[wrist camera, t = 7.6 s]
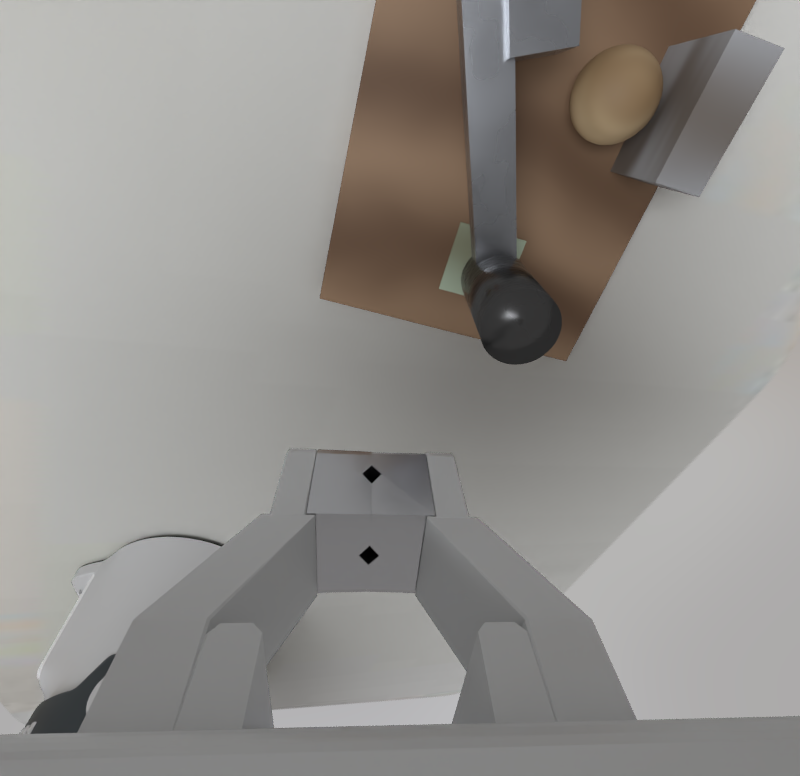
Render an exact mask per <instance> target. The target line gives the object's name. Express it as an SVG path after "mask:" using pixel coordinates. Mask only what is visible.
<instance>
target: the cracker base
mask: <svg viewBox="0 0 800 776" xmlns="http://www.w3.org/2000/svg"><path fill="white" fill-rule="evenodd" d="M755 1H756V0H582V3H581V23H580V42H579V46H577V47H575V48H572V49H570V50H567V51H565V52H562V53H560V54H556V55H550V56H545V57H539V58H533V59H527V60H522V61H516V62H515V101H516V223H517V258H518V259H519V260H520V262H521V263H522V264H523V265H524V266H525V267H526V269H527V270H528V271H529V272H530V273H531V274H532V276H533V277H534V278H535V279H536V280H537V281H538V283H539V284H540V285H541V286H542V287H543V288H544V290H545V291H546V292H547V293H548V294H549V295H550V297H551V298H552V299H553V300H554V301H555V303H556V304H557V305H558V307H559V309H560V312H561V316H562V327H561V332H560V335H559V337H558V339H557V341H556V343H555V344H554V345H553V347H552V348H551V349H550V350H549V351H548V352H547V353H546V354H544V356H548V357H552V358H555V359H559V360H563V361H566V360H567V358H568V357H569V355H570V353H571V351H572V349H573V347H574V345H575V343H576V341H577V339H578V338H579V336H580V334H581V332H582V330H583V328H584V326H585V324H586V322H587V320H588V319H589V317H590V315H591V313H592V311H593V309H594V307H595V305H596V303H597V301H598V300H599V298H600V296H601V294H602V292H603V290H604V288H605V286H606V284H607V282H608V281H609V279H610V277H611V275H612V273H613V271H614V269H615V267H616V265H617V263H618V262H619V260H620V258H621V256H622V254H623V252H624V250H625V248H626V246H627V244H628V243H629V241H630V239H631V237H632V235H633V233H634V231H635V229H636V227H637V225H638V224H639V222H640V220H641V218H642V216H643V214H644V212H645V210H646V208H647V206H648V205H649V203H650V201H651V199H652V197H653V195H654V193H655V191H656V189H657V187H658V186H659V187H663V188H666V189H670V190H674V191H678V192H682V193H685V194H689V195H693V196H697V197H699V196H700V194H701V193H702V191H703V189H704V187H705V186H706V184H707V182H708V181H709V179H710V177H711V175H712V174H713V172H714V170H715V168H716V167H717V165H718V163H719V161H720V160H721V158H722V156H723V154H724V153H725V151H726V149H727V148H728V146H729V144H730V142H731V141H732V139H733V137H734V135H735V134H736V132H737V130H738V128H739V127H740V125H741V123H742V122H743V120H744V118H745V116H746V115H747V113H748V111H749V109H750V108H751V106H752V104H753V102H754V101H755V99H756V97H757V95H758V94H759V92H760V90H761V89H762V87H763V85H764V83H765V82H766V80H767V78H768V76H769V75H770V73H771V71H772V69H773V68H774V66H775V64H776V63H777V61H778V59H779V57H780V56H781V54H782V52H783V50H784V49H785V48H783V47H780V46H778V45H775V44H773V43H770V42H768V41H765V40H762V39H760V38H757V37H755V36H752V35H750V34H747V33H745V32H742V31H740V30H741V28H742V26H743V24H744V22H745V20H746V18H747V16H748V15H749V13H750V11H751V9H752V7H753V5H754V3H755ZM471 257H472V253H471V236H470V220H469V203H468V186H467V170H466V153H465V136H464V120H463V103H462V86H461V70H460V53H459V36H458V20H457V3H456V0H376V3H375V9H374V14H373V19H372V24H371V30H370V35H369V40H368V45H367V51H366V56H365V61H364V67H363V72H362V77H361V82H360V88H359V93H358V98H357V104H356V109H355V114H354V119H353V125H352V130H351V135H350V140H349V146H348V151H347V156H346V162H345V167H344V172H343V177H342V183H341V188H340V193H339V199H338V204H337V209H336V214H335V220H334V225H333V230H332V235H331V241H330V246H329V251H328V257H327V262H326V267H325V272H324V278H323V283H322V288H321V294H320V299H324V300H328V301H332V302H336V303H340V304H344V305H348V306H352V307H356V308H360V309H363V310H367V311H371V312H375V313H379V314H383V315H387V316H391V317H395V318H399V319H403V320H407V321H411V322H414V323H418V324H422V325H426V326H430V327H434V328H438V329H442V330H446V331H450V332H454V333H458V334H461V335H465V336H469V337H473V338H477V339H481V338H480V336H479V333H478V330H477V328H476V325H475V322H474V320H473V317H472V315H471V312H470V309H469V307H468V304H467V301H466V299H465V296H464V293H463V291H462V287H461V275H462V271H463V269H464V267H465V265H466V263H467V262H468V260H469V259H470V258H471Z"/></svg>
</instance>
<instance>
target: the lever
mask: <svg viewBox="0 0 800 776" xmlns="http://www.w3.org/2000/svg"><path fill="white" fill-rule="evenodd" d="M456 3H457V20H458V36H459V53H460V70H461V86H462V103H463V120H464V136H465V153H466V170H467V186H468V203H469V220H470V236H471V253H472V257H471V258H470V259H469V260H468V262H467V263H466V265H465V267H464V269H463V271H462V275H461V287H462V291H463V293H464V296H465V299H466V301H467V304H468V307H469V309H470V312H471V315H472V317H473V320H474V322H475V325H476V328H477V330H478V333H479V336H480V338H481V341H482V344H483V346H484V348H485V349H486V351H487V352H488V353H489V354H490V355H491V356H492V357H493V358H495V359H496V360H498V361H500V362H503V363H507V364H524V363H528V362H532V361H534V360H536V359H538V358H540V357H541V356H543V355H544V354H546V353H547V352H548V351H549V350H550V349H551V348H552V347H553V345H554V344H555V343H556V341H557V339H558V337H559V335H560V332H561V327H562V316H561V312H560V309H559V307H558V305H557V304H556V303H555V301H554V300H553V299H552V298H551V297H550V295H549V294H548V293H547V292H546V291H545V290H544V288H543V287H542V286H541V285H540V284H539V283H538V281H537V280H536V279H535V278H534V277H533V276H532V274H531V273H530V272H529V271H528V270H527V269H526V267H525V266H524V265H523V264H522V263H521V262H520V260H519V259H518V258H517V223H516V101H515V62H516V61H522V60H527V59H533V58H539V57H545V56H550V55H556V54H560V53H562V52H565V51H567V50H570V49H572V48H575V47H577V46H579V42H580V23H581V3H582V0H456Z"/></svg>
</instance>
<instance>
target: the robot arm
mask: <svg viewBox="0 0 800 776" xmlns="http://www.w3.org/2000/svg"><path fill="white" fill-rule="evenodd" d="M72 585H73V587H74V589H75V591H76V593H77V595H78V597H79V599H78V600H77V602H76V604H75V605H74V607H73V609H72V611H71V612H70V614H69V616H68V618H67V619H66V621H65V623H64V624H63V626H62V628H61V630H60V631H59V633H58V635H57V637H56V638H55V640H54V642H53V644H52V645H51V647H50V649H49V651H48V652H47V654H46V656H45V658H44V659H43V661H42V663H41V665H40V667H39V669H38V672H37V678H38V679H39V685H40V688H41V690H42V692H43V694H44V702H42V703H41V704H40V705H39V706H38V707H37V708H36V710H35V711H34V713H33V715H32V716H31V718H30V719H29V721H28V723H27V724H26V726H25V728H23V729H22V730H21V732H20V733H19V734H8V735H7V734H5V735H0V776H800V716H786V717H744V718H705V719H704V718H703V719H702V718H701V719H664V720H662V719H661V720H637V719H636V717H635V715H634V712H633V710H632V708H631V706H630V703H629V701H628V699H627V697H626V695H625V692H624V690H623V688H622V686H621V683H620V681H619V679H618V677H617V674H616V672H615V670H614V668H613V666H612V663H611V661H610V659H609V656H608V654H607V652H606V650H605V647H604V645H603V643H602V641H601V638H600V636H599V634H598V632H597V630H596V627H595V625H594V623H593V621H592V619H591V618H590V617H588V616H587V615H586V614H585V613H584V612H583V611H582V610H580V609H579V608H578V607H577V606H576V605H575V604H574V603H573V602H571V600H569V599H568V598H567V597H566V596H565V595H564V594H563V593H562V592H560V591H559V590H558V589H557V588H556V587H555V586H554V585H553V584H552V583H550V582H549V581H548V580H547V579H546V578H545V577H544V576H543V575H541V574H540V573H539V572H538V571H537V570H536V569H535V568H534V567H532V566H531V565H530V564H529V563H528V562H527V561H526V560H525V559H524V558H522V557H521V556H520V555H519V554H518V553H517V552H516V551H515V550H513V549H512V548H511V547H510V546H509V545H508V544H507V543H506V542H505V541H503V540H502V539H501V538H500V537H499V536H498V535H497V534H496V533H494V532H493V531H492V530H491V529H490V528H489V527H488V526H487V525H486V524H484V523H483V522H482V521H481V520H480V519H479V518H472V517H469V513H468V509H467V506H466V502H465V498H464V494H463V490H462V486H461V482H460V478H459V474H458V470H457V466H456V462H455V459H454V456H453V455H452V454H451V453H425V454H418V453H376V452H361V451H341V450H321V449H318V450H316V449H292V448H290V449H289V450H288V452H287V453H286V456H285V460H284V464H283V467H282V471H281V475H280V479H279V482H278V486H277V490H276V494H275V497H274V501H273V505H272V509H271V512H270V514H260V515H259V516H258V517H257V518H256V519H254V520H253V521H252V522H251V523H250V524H248V525H247V526H246V527H245V528H244V529H242V530H241V531H240V532H239V533H237V534H236V535H235V536H234V537H233V538H231V539H230V540H229V541H228V542H227V543H225V544H224V545H223V546H222V547H221V546H218V545H215V544H212V543H209V542H205V541H201V540H196V539H190V538H182V537H156V538H149V539H144V540H140V541H136V542H133V543H131V544H128V545H126V546H124V547H122V548H121V549H119V550H118V551H117V552H115V553H114V554H113V555H112V556H110V557H109V558H108V559H106V560H104V561H101V562H96V563H92V564H88V565H85V566H82V567H80V568H79V569H78V570H77V572H76V574H75V575H74V577H73V579H72ZM361 591H370V592H403V593H416V594H415V596H416V597H417V599H418V600H419V602H420V603H421V605H422V606H423V607H424V609H425V610H426V612H427V613H428V615H429V616H430V618H431V619H432V621H433V622H434V624H435V625H436V627H437V628H438V630H439V631H440V633H441V634H442V636H443V637H444V639H445V640H446V642H447V643H448V645H449V646H450V648H451V649H452V651H453V652H454V654H455V655H456V657H457V658H458V659H459V661H460V662H461V664H462V665H463V667H464V668H465V670H466V671H467V672H466V676H465V679H464V683H463V687H462V690H461V694H460V697H459V701H458V704H457V708H456V711H455V715H454V718H453V722H452V724H433V725H391V726H390V725H389V726H348V727H347V726H346V727H307V728H306V727H304V728H274V725H273V718H272V709H271V701H270V693H269V684H268V676H267V668H266V666H267V664H268V663H269V661H270V660H271V659H272V657H273V656H274V655H275V653H276V652H277V650H278V649H279V648H280V646H281V645H282V644H283V642H284V641H285V639H286V638H287V637H288V635H289V634H290V632H291V631H292V630H293V628H294V627H295V626H296V624H297V623H298V621H299V620H300V619H301V617H302V616H303V614H304V613H305V612H306V610H307V609H308V608H309V606H310V605H311V603H312V602H313V601H314V599H315V598H316V596H317V593H323V592H361Z"/></svg>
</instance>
